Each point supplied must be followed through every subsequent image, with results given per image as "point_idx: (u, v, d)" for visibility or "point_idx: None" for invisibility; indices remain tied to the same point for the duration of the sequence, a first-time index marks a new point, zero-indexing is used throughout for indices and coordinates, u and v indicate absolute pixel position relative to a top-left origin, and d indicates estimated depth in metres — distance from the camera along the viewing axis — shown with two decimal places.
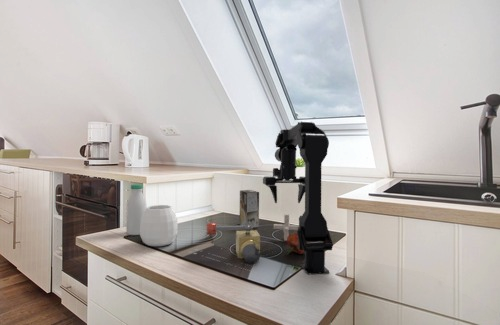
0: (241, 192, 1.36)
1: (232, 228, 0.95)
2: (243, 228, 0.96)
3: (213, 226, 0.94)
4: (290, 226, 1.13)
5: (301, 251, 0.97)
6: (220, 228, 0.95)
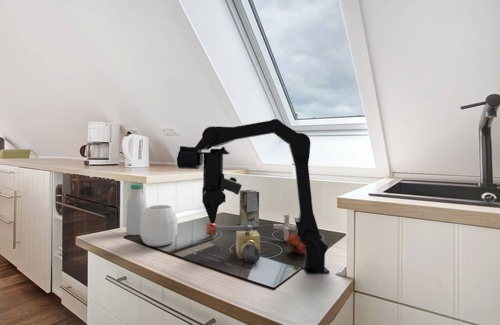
0: (241, 192, 1.36)
1: (232, 228, 0.95)
2: (243, 228, 0.96)
3: (213, 226, 0.94)
4: (290, 226, 1.13)
5: (301, 251, 0.97)
6: (220, 228, 0.95)
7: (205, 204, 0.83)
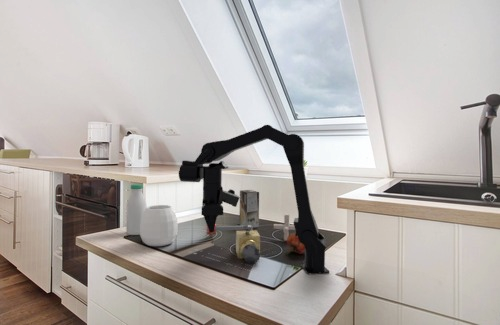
0: (241, 192, 1.36)
1: (232, 228, 0.95)
2: (243, 228, 0.96)
3: None
4: (290, 226, 1.13)
5: (301, 251, 0.97)
6: (220, 228, 0.95)
7: (204, 215, 0.90)
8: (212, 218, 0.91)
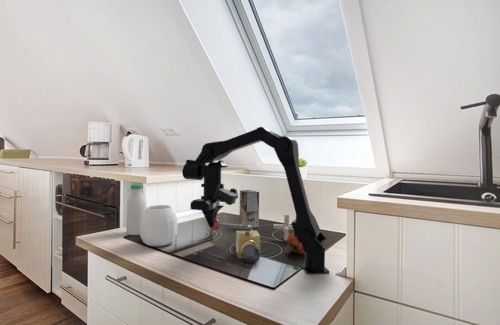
0: (241, 192, 1.36)
1: (232, 226, 0.98)
2: (242, 227, 0.97)
3: None
4: (290, 226, 1.13)
5: (301, 251, 0.97)
6: (221, 225, 0.99)
7: (203, 210, 0.97)
8: (210, 214, 0.97)
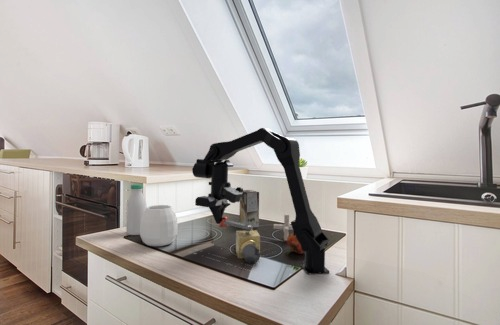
0: None
1: (234, 225, 1.00)
2: (242, 227, 0.98)
3: (221, 219, 1.04)
4: (290, 226, 1.13)
5: (301, 251, 0.97)
6: (226, 222, 1.03)
7: (210, 207, 1.02)
8: (216, 211, 1.02)
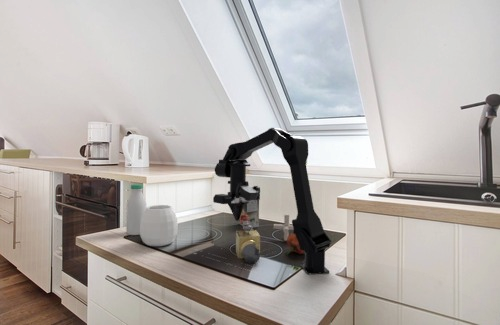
0: None
1: (243, 223, 1.02)
2: None
3: (241, 217, 1.08)
4: (290, 226, 1.13)
5: (301, 251, 0.97)
6: (242, 220, 1.06)
7: (229, 204, 1.08)
8: (235, 208, 1.07)
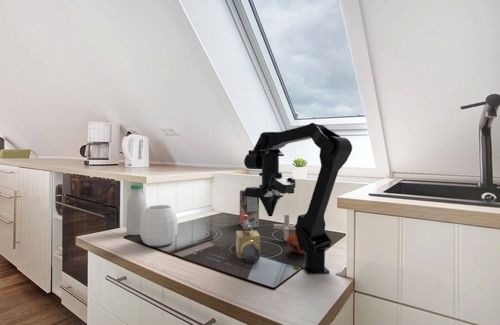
0: (241, 192, 1.36)
1: (243, 223, 1.02)
2: None
3: (241, 217, 1.08)
4: (290, 226, 1.13)
5: (301, 251, 0.97)
6: (242, 220, 1.06)
7: (261, 198, 0.99)
8: (267, 202, 0.98)
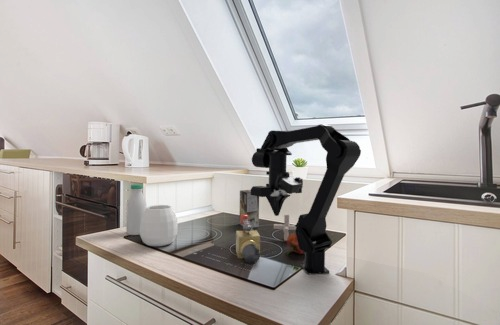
0: (241, 192, 1.36)
1: (243, 223, 1.02)
2: None
3: (241, 217, 1.08)
4: (290, 226, 1.13)
5: (301, 251, 0.97)
6: (242, 220, 1.06)
7: (267, 197, 0.98)
8: (274, 202, 0.96)
